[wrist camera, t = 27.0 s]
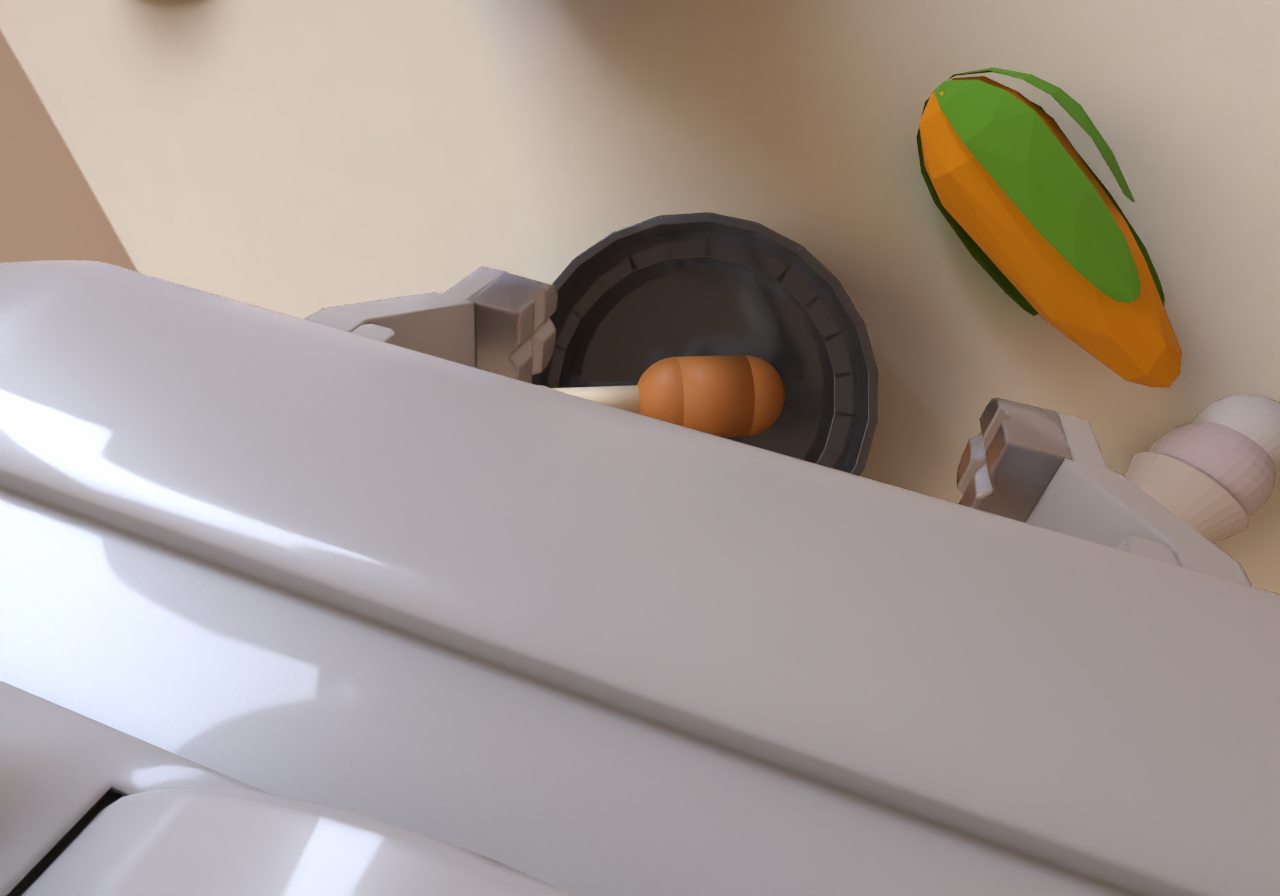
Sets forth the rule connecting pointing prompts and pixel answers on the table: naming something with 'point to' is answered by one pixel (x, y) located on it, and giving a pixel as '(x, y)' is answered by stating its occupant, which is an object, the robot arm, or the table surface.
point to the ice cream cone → (1215, 465)
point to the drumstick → (701, 394)
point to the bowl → (722, 325)
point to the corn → (1046, 221)
